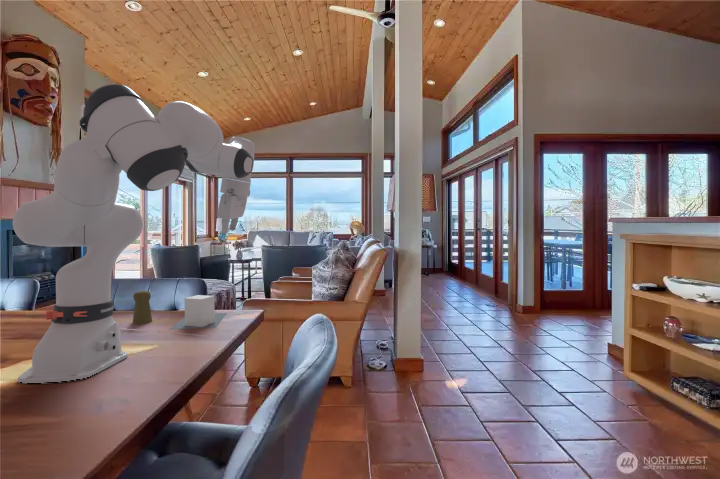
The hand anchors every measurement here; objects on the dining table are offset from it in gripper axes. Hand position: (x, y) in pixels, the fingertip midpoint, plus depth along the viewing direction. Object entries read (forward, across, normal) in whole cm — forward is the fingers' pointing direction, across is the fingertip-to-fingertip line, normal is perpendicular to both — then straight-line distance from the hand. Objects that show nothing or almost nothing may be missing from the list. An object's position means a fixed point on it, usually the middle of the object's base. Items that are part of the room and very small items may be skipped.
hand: (228, 231), depth 129 cm
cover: (+32, +1, +5) cm, 33 cm away
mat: (+33, +6, +6) cm, 34 cm away
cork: (+37, +5, +25) cm, 45 cm away
